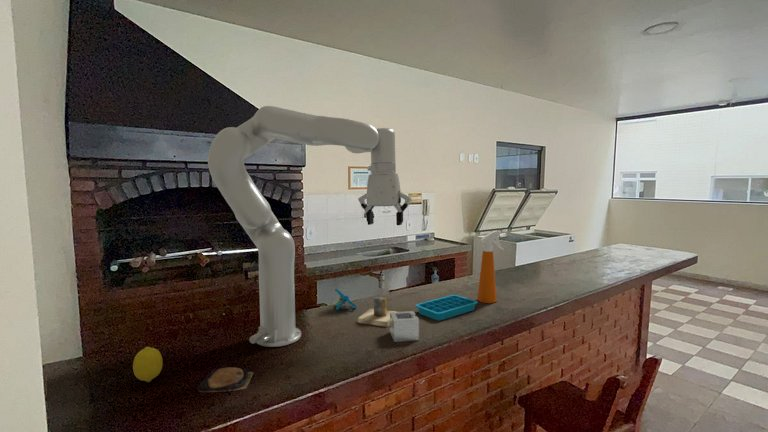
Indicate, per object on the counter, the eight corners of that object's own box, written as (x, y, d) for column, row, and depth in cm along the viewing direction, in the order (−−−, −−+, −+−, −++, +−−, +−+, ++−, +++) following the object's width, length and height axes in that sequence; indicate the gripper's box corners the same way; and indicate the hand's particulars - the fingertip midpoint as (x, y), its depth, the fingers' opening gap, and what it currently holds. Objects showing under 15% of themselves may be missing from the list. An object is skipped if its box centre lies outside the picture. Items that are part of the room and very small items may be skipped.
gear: (361, 307, 127) (339, 288, 126) (349, 321, 126) (327, 302, 124) (354, 302, 138) (334, 285, 136) (343, 315, 137) (323, 297, 135)
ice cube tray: (479, 310, 130) (479, 301, 130) (438, 323, 118) (438, 314, 118) (454, 302, 140) (454, 294, 139) (413, 313, 128) (413, 304, 127)
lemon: (168, 375, 86) (166, 341, 85) (154, 388, 80) (152, 352, 79) (143, 375, 85) (141, 341, 85) (128, 388, 80) (125, 352, 79)
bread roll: (255, 374, 87) (254, 358, 87) (245, 393, 79) (244, 377, 79) (208, 376, 86) (207, 360, 86) (192, 396, 78) (192, 379, 78)
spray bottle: (508, 301, 140) (510, 231, 138) (485, 304, 136) (486, 232, 134) (496, 295, 146) (497, 229, 144) (473, 299, 142) (474, 230, 140)
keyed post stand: (357, 322, 118) (357, 301, 118) (370, 312, 127) (370, 292, 127) (387, 326, 114) (387, 304, 114) (398, 316, 124) (398, 295, 123)
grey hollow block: (394, 342, 103) (394, 320, 103) (390, 332, 110) (390, 312, 110) (418, 340, 104) (419, 319, 104) (413, 330, 111) (413, 311, 111)
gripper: (352, 170, 115) (354, 225, 117) (406, 168, 109) (407, 226, 110) (363, 170, 122) (364, 222, 123) (413, 168, 116) (414, 223, 117)
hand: (384, 224), depth 117 cm, fingers open, 9 cm apart
